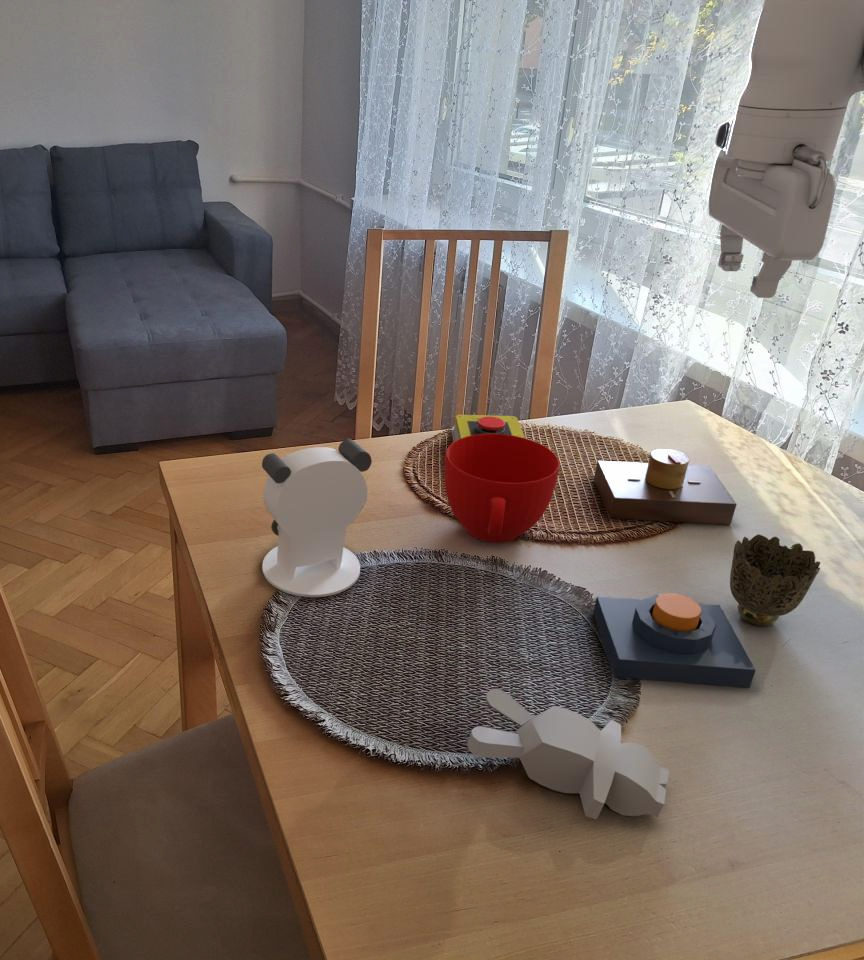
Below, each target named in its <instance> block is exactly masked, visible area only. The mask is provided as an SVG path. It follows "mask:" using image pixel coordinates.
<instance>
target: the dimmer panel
mask: <svg viewBox="0 0 864 960" xmlns="http://www.w3.org/2000/svg"><path fill="white" fill-rule="evenodd" d="M648 463H649V462H632V461H610V460H597V462H596V465H595V466H596V467H595V472H594V476H593V482H594V484H595V487H596V489H597V491H598V493H599V495H600V497H601V500H602V502H603V505H604V507H605V509H606V512H607V514H608V516H609V519H614V520H615V519H616V520H635V521H637V520H638V521H653V522H668V523H669V522H672V523H687V524H708V525H727V526H731V525H732V521H733V518H734V514H735V511H736V508H737V502H736V501H735V500H734V498H733V496H732V495H731V494H730V492H729V490H727V488H726V487H725V485H724V484H723V482H722V481H721V480H720V478H719V477H718V475H717V473H716V472H715V471H714V470H713V468H712V466H711V465H704V464H703V465H701V464H688V467H687V471H686V475H685V479H684V483H683V485H682V486H681V487H680V488H677V489H663V488H659V487H656V486H653V485H651V484H649V483H648V482H647V481H646V479H645V475H646V471H647V467H648Z"/></svg>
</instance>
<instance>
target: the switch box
mask: <svg viewBox="0 0 864 960" xmlns="http://www.w3.org/2000/svg"><path fill="white" fill-rule="evenodd" d="M660 595H661V594H655V595H651V596H648V597H644V598H641V599H639V598H623V597H610V596H609V597H608V596H596V598H595V603H594V608H593V613H592V614H593V617H594V620H595V622H596V626H597V628H598V631H599V634H600V637H601V640H602V643H603V646H604V649H605V652H606V655H607V657H608V661H609V663H610V667H611V669H612V672H613V673H612V674H613V675H614V677H615V678H625V679H626V678H627V679H637V680H649V681H650V680H651V681H660V682H661V681H663V682H674V683H687V684H697V685H711V686H724V687H734V688H747V689H748V688H750V687H751V685H752V682H753V679H754V676H755V674H756V668H755V666H754V664H753V663H752V660H751V659H750V657H749V656H748V654H747V652H746V650H745V648H744V646H743V645H742V643H741V640H740V639H739V637H738V635H737V633H736V632H735V630H734V629H733V627H732V624H731V623H730V621H729V619H728V617H727V615H726V613H725V612H724V611H723V609H722V607H721V605H720V604H710V603H698V604H699V606H700V607H701V615H700V618H699V622H698V625H697V627H696V628H695V629H694V630H693V631H690V632H686V631H675V630H672V629H669V628H667V627H664V626H661V625H660V624H659V623H657V622H656V621H655V620H654V619H653V616H652V613H653V609H654V605H655V602H656V599H657V597H658V596H660Z"/></svg>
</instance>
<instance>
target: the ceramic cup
mask: <svg viewBox="0 0 864 960" xmlns="http://www.w3.org/2000/svg"><path fill="white" fill-rule="evenodd" d="M560 466H561V465H560V461H559V458H558V456H557V455H556V453H554V452H553V451H552V450H551V449H550V448H549V447H546V445H543V444H541V443H539V442H537V441H535V440H532V439H529V438H526V437H525V438H522V437H518V436H513V435H505V434H478V435H471V436H467V437H463V438H461V439H458V440H456V441H455V442H454V441H453V442H452V443H451V444H450V445H449V446H448V447H447V449H446V451H445V455H444V485H445V494H446V498H447V502H448V504H449V507H450V509H451V511H452V514H453V515H454V517H455V518H456V520H457V521H458V523H459V524H460V525H461V526H462V527H463V528H464V529H465V532H466V533H468V534H469V535H470V536H472V537H473V538H475V539H477V540H479V541H483V542H488V543H497V544H501V543H509V542H512V541H514V540H516V539H517V538H519V536H521V535H523V534H524V533H526V532H528V531H529V530H530V529H532V527H534V526H535V525H536V524H537V523H538V522H539V521H540V519H541V518H542V516H543V515H544V513H545V512H546V510H547V509H548V506H549V505H550V503H551V500H552V497H553V494H554V492H555V488H556V485H557V481H558V478H559V477H558V476H559V472H560Z"/></svg>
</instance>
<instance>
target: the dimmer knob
mask: <svg viewBox="0 0 864 960" xmlns="http://www.w3.org/2000/svg"><path fill="white" fill-rule="evenodd" d="M647 463H648V467H647V471H646V475H645V479H646V481H647V482H648V483H649V484H651V485H653V486H656V487H659V488H663V489H677V488H680V487H681V486H682V485H683V483H684V479H685V475H686V471H687V467H688V465H689V463H690V458H689V456H688V455H686V454H685V453H683V452H681V451H679V450H675V449H670V448H657V449H654V450H652V451H651V453H650V455H649V458H648V462H647Z"/></svg>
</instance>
